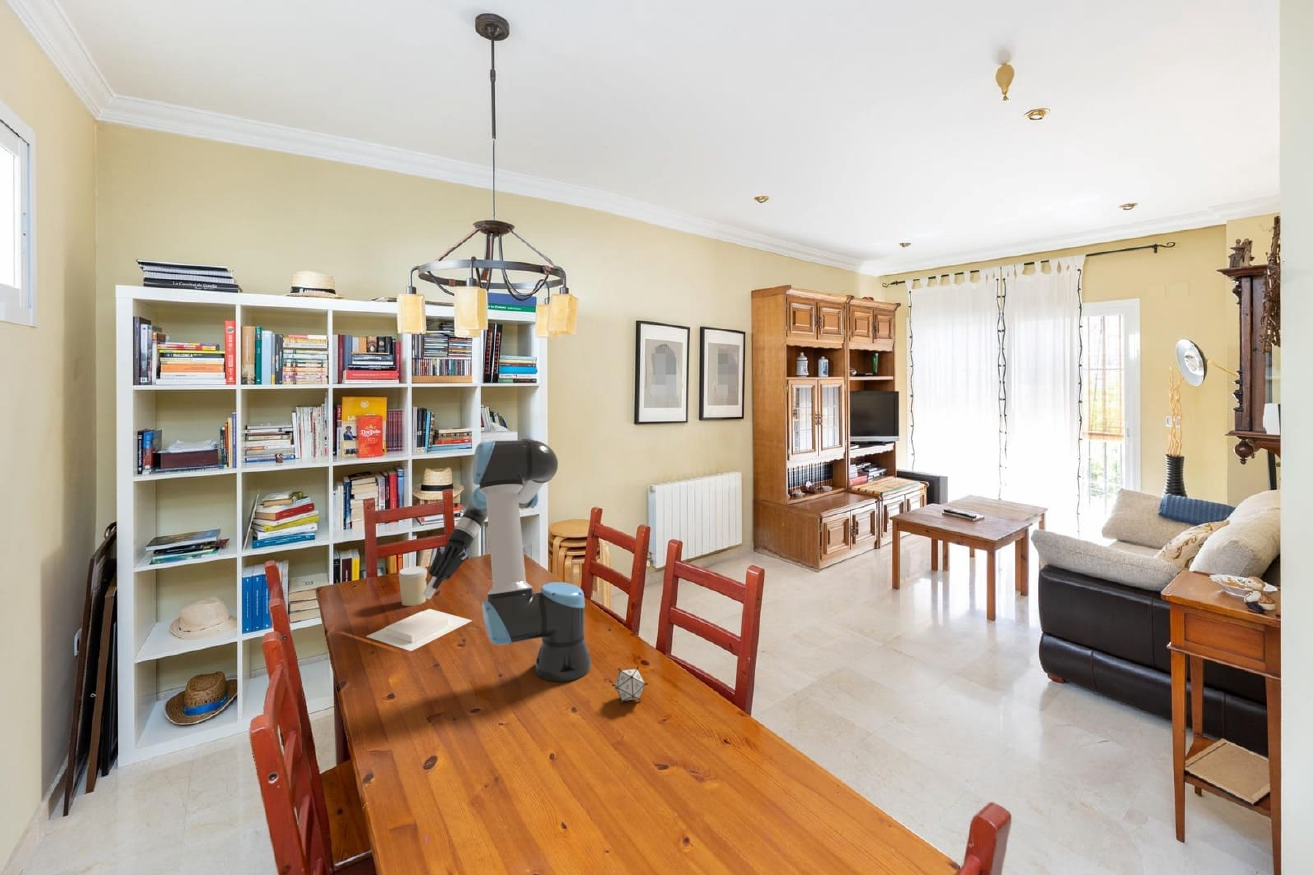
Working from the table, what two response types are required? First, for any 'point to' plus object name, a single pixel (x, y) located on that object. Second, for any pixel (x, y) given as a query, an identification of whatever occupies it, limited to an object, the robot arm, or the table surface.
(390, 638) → the mat
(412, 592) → the coffee cup
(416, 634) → the tile
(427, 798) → the table surface
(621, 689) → the game die
